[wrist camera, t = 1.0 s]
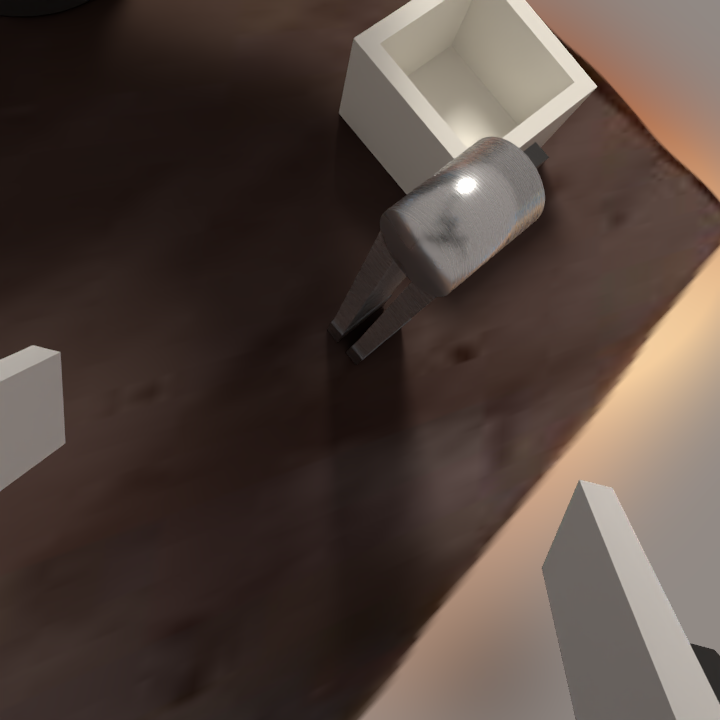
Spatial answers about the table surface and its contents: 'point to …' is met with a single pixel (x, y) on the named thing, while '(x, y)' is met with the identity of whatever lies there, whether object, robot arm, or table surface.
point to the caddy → (457, 83)
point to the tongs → (442, 236)
